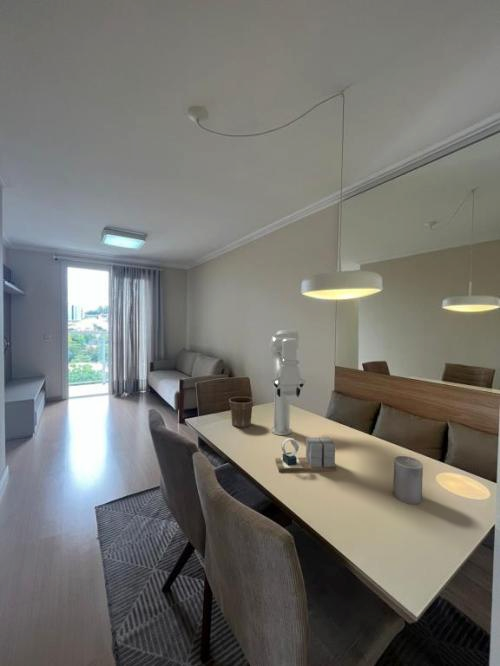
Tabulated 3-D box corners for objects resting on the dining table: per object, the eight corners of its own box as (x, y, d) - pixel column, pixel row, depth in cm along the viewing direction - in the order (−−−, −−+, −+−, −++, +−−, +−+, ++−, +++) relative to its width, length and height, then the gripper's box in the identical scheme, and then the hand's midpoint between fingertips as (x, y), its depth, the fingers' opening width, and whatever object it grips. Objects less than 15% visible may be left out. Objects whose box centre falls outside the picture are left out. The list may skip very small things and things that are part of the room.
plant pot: (225, 421, 188) (225, 397, 187) (247, 418, 195) (247, 395, 194) (234, 430, 173) (234, 404, 173) (257, 426, 180) (258, 401, 179)
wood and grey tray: (275, 461, 135) (275, 437, 135) (328, 460, 137) (329, 436, 137) (279, 472, 125) (279, 446, 125) (336, 470, 127) (337, 445, 127)
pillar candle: (396, 486, 116) (397, 450, 115) (424, 495, 110) (425, 457, 109) (390, 497, 108) (391, 459, 108) (419, 508, 102) (420, 467, 101)
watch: (300, 463, 130) (300, 439, 129) (284, 466, 127) (284, 442, 127) (294, 458, 135) (295, 435, 135) (279, 460, 132) (279, 437, 132)
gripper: (303, 362, 150) (302, 394, 150) (271, 361, 148) (270, 394, 149) (307, 364, 142) (306, 398, 143) (273, 363, 141) (272, 398, 141)
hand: (288, 396), depth 146 cm, fingers open, 9 cm apart
